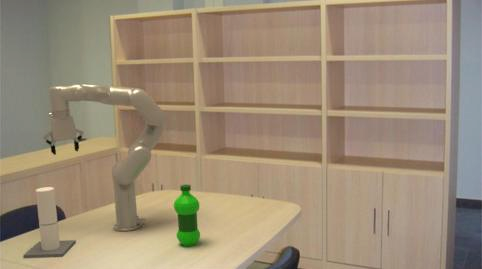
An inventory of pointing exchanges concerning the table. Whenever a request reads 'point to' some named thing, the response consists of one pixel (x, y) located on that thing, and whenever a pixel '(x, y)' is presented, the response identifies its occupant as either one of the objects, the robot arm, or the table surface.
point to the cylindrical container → (47, 218)
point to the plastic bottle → (187, 217)
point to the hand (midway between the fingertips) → (65, 152)
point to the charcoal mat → (59, 252)
